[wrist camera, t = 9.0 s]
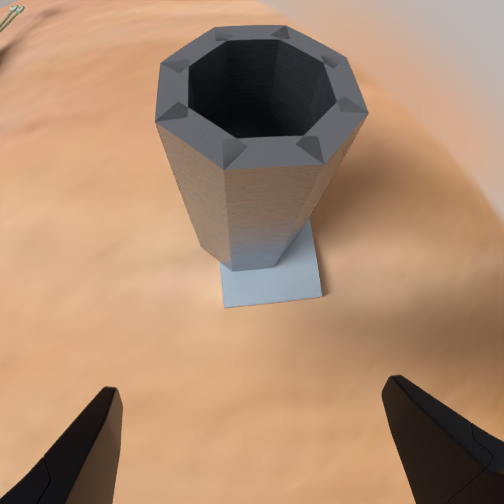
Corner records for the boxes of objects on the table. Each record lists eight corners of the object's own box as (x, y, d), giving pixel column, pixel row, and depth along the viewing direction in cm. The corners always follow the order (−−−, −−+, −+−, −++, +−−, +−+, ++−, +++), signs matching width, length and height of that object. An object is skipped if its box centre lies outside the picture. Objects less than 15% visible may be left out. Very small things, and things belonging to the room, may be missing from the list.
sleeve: (300, 265, 20) (386, 164, 8) (203, 274, 20) (152, 178, 7) (287, 178, 21) (332, 28, 9) (198, 185, 21) (164, 32, 9)
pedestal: (319, 297, 20) (335, 289, 17) (224, 308, 20) (221, 302, 16) (293, 146, 23) (301, 118, 20) (211, 152, 22) (207, 124, 19)
